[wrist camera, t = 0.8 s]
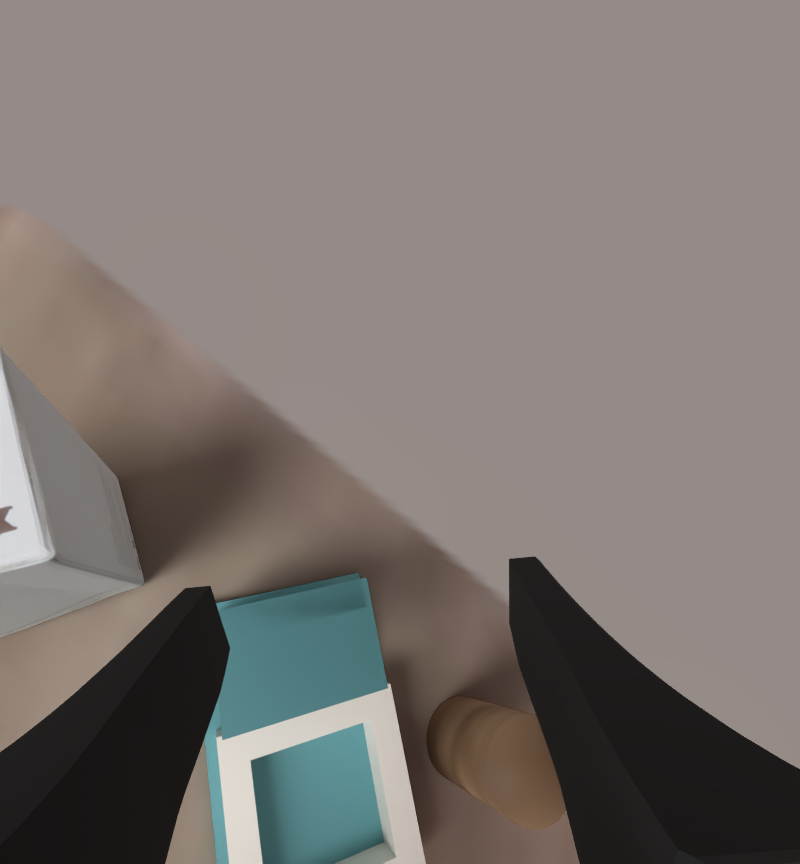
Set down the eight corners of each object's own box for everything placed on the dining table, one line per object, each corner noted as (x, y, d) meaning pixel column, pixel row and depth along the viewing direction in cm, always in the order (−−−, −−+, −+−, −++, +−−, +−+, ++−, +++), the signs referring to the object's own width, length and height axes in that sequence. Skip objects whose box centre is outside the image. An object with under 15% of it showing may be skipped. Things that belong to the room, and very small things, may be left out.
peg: (502, 766, 27) (587, 807, 21) (436, 793, 26) (507, 846, 19) (483, 686, 28) (558, 703, 22) (418, 708, 27) (480, 732, 21)
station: (410, 856, 24) (467, 923, 19) (225, 942, 21) (228, 1052, 16) (356, 573, 28) (390, 560, 23) (192, 608, 25) (186, 603, 19)
